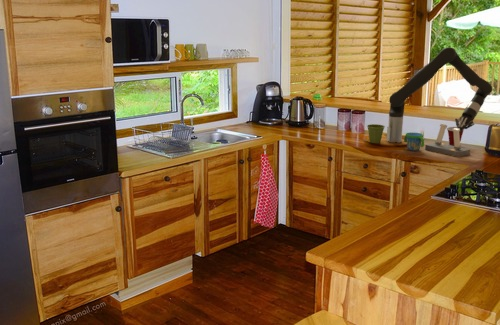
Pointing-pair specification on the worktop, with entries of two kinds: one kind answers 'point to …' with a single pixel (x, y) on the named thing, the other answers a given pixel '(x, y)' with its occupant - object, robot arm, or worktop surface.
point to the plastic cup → (451, 135)
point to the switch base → (447, 149)
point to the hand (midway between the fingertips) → (457, 133)
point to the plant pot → (375, 132)
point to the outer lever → (456, 138)
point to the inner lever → (441, 134)
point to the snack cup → (414, 141)
